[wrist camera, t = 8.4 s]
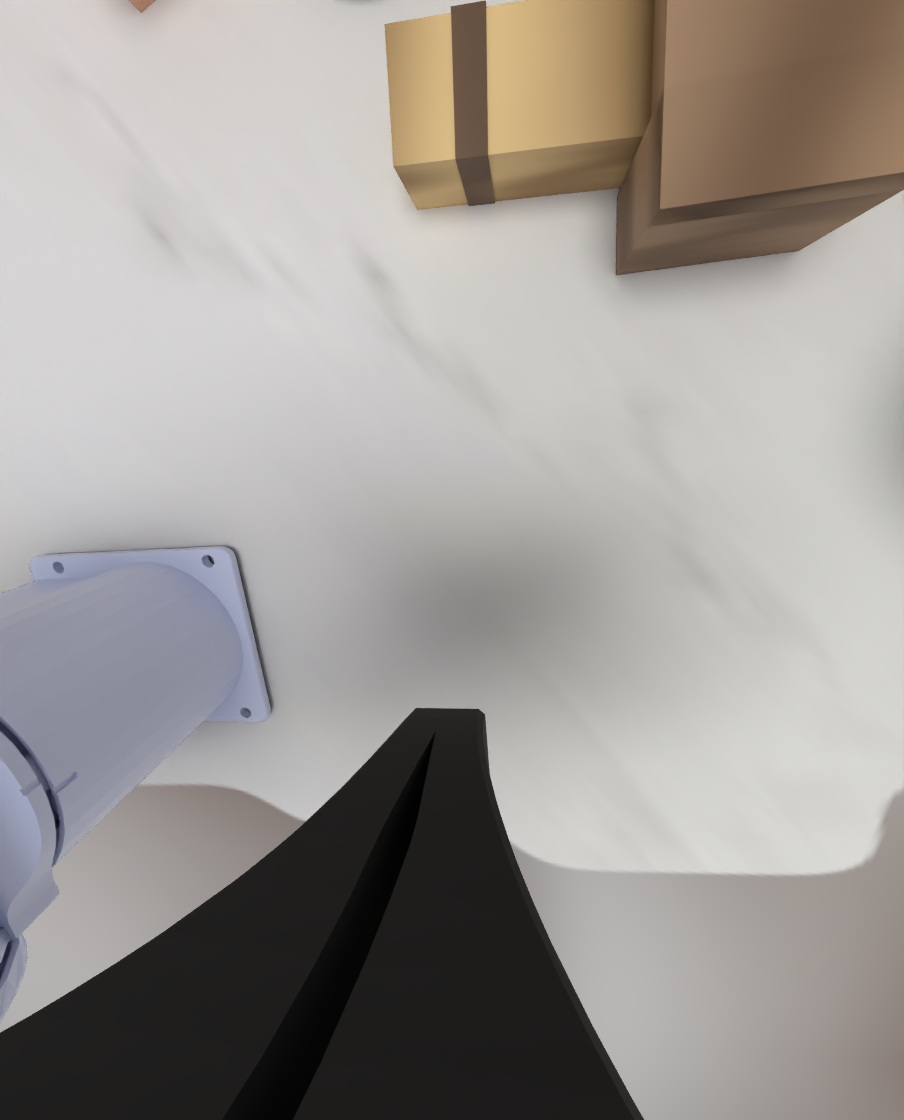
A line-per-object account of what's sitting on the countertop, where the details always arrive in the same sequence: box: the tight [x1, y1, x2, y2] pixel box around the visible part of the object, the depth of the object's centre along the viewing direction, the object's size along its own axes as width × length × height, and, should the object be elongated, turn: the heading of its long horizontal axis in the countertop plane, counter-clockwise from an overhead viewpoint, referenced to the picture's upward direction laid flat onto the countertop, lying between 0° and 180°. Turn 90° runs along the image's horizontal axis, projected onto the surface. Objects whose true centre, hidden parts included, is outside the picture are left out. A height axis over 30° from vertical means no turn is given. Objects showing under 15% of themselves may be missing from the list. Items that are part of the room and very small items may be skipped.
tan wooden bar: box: [385, 0, 655, 210], centre depth 12 cm, size 14×3×3 cm, turn 92°
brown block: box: [616, 0, 904, 275], centre depth 10 cm, size 5×8×5 cm, turn 5°
